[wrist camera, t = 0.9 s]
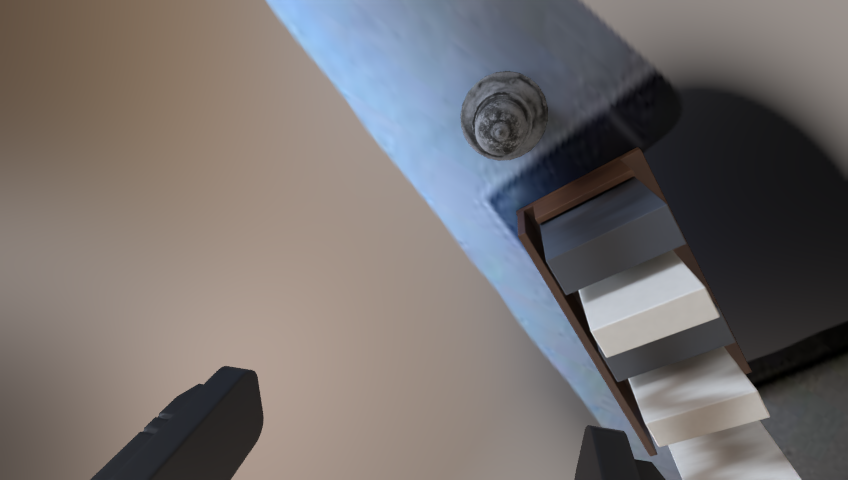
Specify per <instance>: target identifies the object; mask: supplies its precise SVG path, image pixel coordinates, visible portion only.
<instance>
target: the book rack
mask: <svg viewBox="0 0 848 480" xmlns="http://www.w3.org/2000/svg"><path fill="white" fill-rule="evenodd" d="M516 214H517V216H518V237H519V239H520V240H521V242H522V244H523V245H524V247H525V249H526V250H527V252H528V254H529V255H530V257H531V259H532V260H533V262H534V264H535V265H536V267H537V269H538V270H539V272H540V274H541V275H542V277H543V279H544V280H545V282H546V284H547V285H548V287H549V289H550V290H551V292H552V294H553V295H554V297H555V299H556V300H557V302H558V304H559V305H560V307H561V309H562V310H563V312H564V314H565V315H566V317H567V319H568V320H569V322H570V324H571V325H572V327H573V329H574V330H575V332H576V334H577V335H578V337H579V339H580V340H581V342H582V344H583V345H584V347H585V349H586V350H587V352H588V354H589V355H590V357H591V359H592V360H593V362H594V364H595V365H596V367H597V369H598V370H599V372H600V374H601V375H602V377H603V379H604V380H605V382H606V384H607V385H608V387H609V389H610V390H611V392H612V394H613V395H614V397H615V399H616V400H617V402H618V404H619V405H620V407H621V409H622V410H623V412H624V414H625V415H626V417H627V419H628V420H629V422H630V424H631V425H632V427H633V429H634V430H635V432H636V434H637V435H638V437H639V439H640V440H641V442H642V444H643V445H644V447H645V449H646V450H647V452H648V454H649V455H650V456H653V455H657V452H656V449H655V446H654V444H653V441H652V439H651V436H650V433H651V435H652V436H653V438H654V440H655V441H656V443H657V445H658V446H659V447H662V446H666V445H668V446H669V449H670V451H671V453H672V456H673V458H674V461H675V463H676V465H677V468H678V470H679V473H680V475H681V477H682V480H802V479H801V478H800V476H799V475H798V473H797V472H796V471H795V469H794V468H793V466H792V465H791V464H790V462H789V461H788V459H787V458H786V457H785V455H784V454H783V452H782V451H781V450H780V448H779V447H778V445H777V444H776V442H775V441H774V440H773V438H772V437H771V435H770V434H769V433H768V431H767V430H766V428H765V427H764V426H763V424H762V423H761V421H760V420H762V419H765V418H769V417H770V415H769V413H768V411H767V409H766V407H765V405H764V403H763V401H762V399H761V397H760V395H759V393H758V391H757V389H756V388H755V387H754V385H753V384H752V383H751V381H750V380H749V379H748V378H747V376H746V375H745V374H747V373H750V372H751V369H750V367H749V365H748V363H747V361H746V359H745V357H744V355H743V353H742V351H741V349H740V347H739V345H738V343H737V341H736V339H735V337H734V335H733V333H732V331H731V329H730V327H729V325H728V323H727V321H726V319H725V317H724V315H723V313H722V311H721V309H720V307H719V305H718V303H717V301H716V299H715V297H714V295H713V293H712V291H711V289H710V287H709V285H708V283H707V281H706V279H705V277H704V275H703V273H702V271H701V269H700V267H699V265H698V263H697V261H696V259H695V257H694V255H693V253H692V251H691V249H690V247H689V245H688V243H687V241H686V239H685V237H684V235H683V233H682V231H681V229H680V227H679V225H678V223H677V221H676V219H675V217H674V215H673V213H672V211H671V209H670V207H669V205H668V203H667V201H666V199H665V197H664V195H663V193H662V191H661V189H660V187H659V185H658V183H657V181H656V179H655V177H654V175H653V173H652V171H651V169H650V167H649V165H648V163H647V161H646V159H645V157H644V155H643V153H642V151H641V149H640V148H638V147H637V148H635V149H633V150H631V151H629V152H627V153H625V154H624V155H622V156H620V157H618V158H616V159H614V160H612V161H610V162H608V163H606V164H605V165H603V166H601V167H599V168H597V169H595V170H593V171H591V172H589V173H588V174H586V175H584V176H582V177H580V178H578V179H576V180H574V181H572V182H571V183H569V184H567V185H565V186H563V187H561V188H559V189H557V190H555V191H553V192H552V193H550V194H548V195H546V196H544V197H542V198H540V199H538V200H536V201H535V202H533V203H531V204H529V205H527V206H525V207H523V208H521V209H519V210H517V211H516ZM671 250H673V251H674V253H675V254H676V255H677V256H678V257H679V258H680V259H681V260H682V261H683V263H684V264H685V265H686V266H687V267H688V268H689V269H690V270H691V271H692V273H693V274H694V275H695V276H696V277H697V278H698V279H699V280H700V281H701V283H702V284H703V285H704V286H705V287H706V289H707V291H708V293H709V295H710V297H711V299H712V301H713V303H714V305H715V307H716V309H717V311H718V313H719V315H720V317H719V318H716V319H714V320H711V321H708V322H705V323H703V324H700V325H697V326H694V327H691V328H689V329H686V330H683V331H680V332H678V333H675V334H672V335H669V336H666V337H664V338H661V339H658V340H655V341H653V342H650V343H647V344H644V345H641V346H639V347H636V348H633V349H630V350H628V351H625V352H622V353H619V354H617V355H614V356H611V357H608V358H607V357H605V355H604V353H603V352H602V350H601V348H600V346H599V345H598V343H597V341H596V340H595V338H594V336H593V335H592V333H591V331H590V327H589V324H588V321H587V317H586V314H585V311H584V307H583V304H582V301H581V297H580V294H579V291H578V290H580V289H582V288H585V287H587V286H589V285H592V284H594V283H596V282H599V281H601V280H603V279H606V278H608V277H610V276H613V275H615V274H617V273H620V272H622V271H624V270H627V269H629V268H631V267H633V266H636V265H638V264H640V263H643V262H645V261H647V260H650V259H652V258H654V257H657V256H659V255H661V254H664V253H666V252H668V251H671ZM648 430H649V431H650V433H649V431H648Z"/></svg>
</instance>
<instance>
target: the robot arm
mask: <svg viewBox="0 0 848 480" xmlns="http://www.w3.org/2000/svg"><path fill="white" fill-rule="evenodd" d="M262 426H263V411H262V404H261V397H260V391H259V384H258V377H257V374H256V373H255V371H252V370H247V369H241V368H235V367H229V366H224V367H222V368H220V369H219V370H218V371H217V372H216V373H215V374H214V375H213V376H212V377H211V378H210V379H209V380H208V381H207V382H206V383H205V384H204V385H203V384H198V385H196V386H194V387H193V388H191V389H189V390H188V391H186V392H184V393H182V394H181V395H179V396H177V397H176V398H175V399H174V400H173V401H172V402H171V403H170V404H169V405H168V406H167V407H166V408H165V409H164V410H162V411H161V412H160V413H159V416H158V417H155V418H154V419H153V420H152V421H151V422H150V423H149V424H148V425H147V426H146V427H145V428H144V431H143V432H140V433H138V435H137V436H135V437H134V438H133V439H132V440H131V441H130V442H129V443H128V444H127V445H126V446H125V447H124V448H123V449H122V450H121V451H120V452H119V453H118V454H117V455H116V456H114V457H113V458H112V459H111V460H110V461H109V462H108V463H107V464H106V465H105V466H104V467H103V468H102V469H101V470H100V471H99V472H98V473H97V474H96V475H95V476H94V477H93V478H92V479H91V480H231V478H232V477H233V475H234V474H235V473H236V471H237V470H238V468H239V467H240V465H241V464H242V462H243V461H244V460H245V458H246V456H247V455H248V453H249V452H250V451H251V450H252V448H253V447H254V445H255V444H256V442H257V440H258V438H259V436H260V433H261V430H262ZM575 480H665V478H664V477H663V476H662V475H661V473H660V472H659V471H658V470H657V468H656V467H655V466H654V465H653V463H652V462H648V461H642V460H636V459H634V457H633V454H632V450H631V447H630V444H629V441H628V438H627V435H626V433H625V432H624V431H621V430H615V429H608V428H602V427H596V426H589V425H588V426H587V427H586V429H585V432H584V437H583V441H582V446H581V450H580V456H579V460H578V464H577V469H576V474H575Z"/></svg>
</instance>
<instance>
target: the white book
mask: <svg viewBox="0 0 848 480" xmlns="http://www.w3.org/2000/svg"><path fill="white" fill-rule="evenodd" d="M578 291H579V294H580V297H581V301H582V304H583V307H584V311H585V314H586V317H587V321H588V324H589V327H590V331H591V333H592V335H593V336H594V338H595V340H596V341H597V343H598V345H599V346H600V348H601V350H602V352H603V353H604V355H605V357H607V358H608V357H611V356H614V355H617V354H619V353H622V352H625V351H628V350H630V349H633V348H636V347H639V346H641V345H644V344H647V343H650V342H653V341H655V340H658V339H661V338H664V337H666V336H669V335H672V334H675V333H678V332H680V331H683V330H686V329H689V328H691V327H694V326H697V325H700V324H703V323H705V322H708V321H711V320H714V319H716V318H719V317H720V315H719V313H718V311H717V309H716V307H715V305H714V303H713V301H712V299H711V297H710V295H709V293H708V291H707V289H706V287H705V286H704V285H703V284H702V283H701V281H700V280H699V279H698V278H697V277H696V276H695V275H694V274H693V273H692V271H691V270H690V269H689V268H688V267H687V266H686V265H685V264H684V263H683V261H682V260H681V259H680V258H679V257H678V256H677V255H676V254H675V253H674V251H673V250H671V251H668V252H666V253H664V254H661V255H659V256H657V257H654V258H652V259H650V260H647V261H645V262H643V263H640V264H638V265H636V266H633V267H631V268H629V269H627V270H624V271H622V272H620V273H617V274H615V275H613V276H610V277H608V278H606V279H603V280H601V281H599V282H596V283H594V284H592V285H589V286H587V287H585V288H582V289H580V290H578Z"/></svg>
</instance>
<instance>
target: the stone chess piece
mask: <svg viewBox="0 0 848 480" xmlns="http://www.w3.org/2000/svg"><path fill="white" fill-rule="evenodd" d="M547 121H548V107H547V103H546V99H545V96H544V94H543V93H542V91H541V89H540V88H539V86H538V85H537V84H536V83H535V82H533V81H532V80H531V79H530V78H528V77H526V76H524V75H522V74H520V73H516V72H510V71H505V72H496V73H493V74H491V75H488V76H486V77H484V78H483V79H481V80H480V81H479V82H477V83H476V84H475V85H474V86H473V87H472V89H471V90H470V91H469V92H468V94H467V96H466V98H465V100H464V102H463V105H462V110H461V127H462V130H463V133H464V136H465V138H466V140H467V141H468V143H469V144H470V146H471V147H472V148H473V149H474V150H475V151H477V152H478V153H479V154H481V155H483V156H485V157H487V158H489V159H494V160H511V159H514V158H517V157H520V156H522V155H524V154H525V153H527V152H529V151H530V150H531V149H532V148H533V147H534V146H535V145H536V144H537V143H538V142H539V140H540V139H541V137H542V135H543V133H544V132H545V128H546V124H547Z"/></svg>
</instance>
